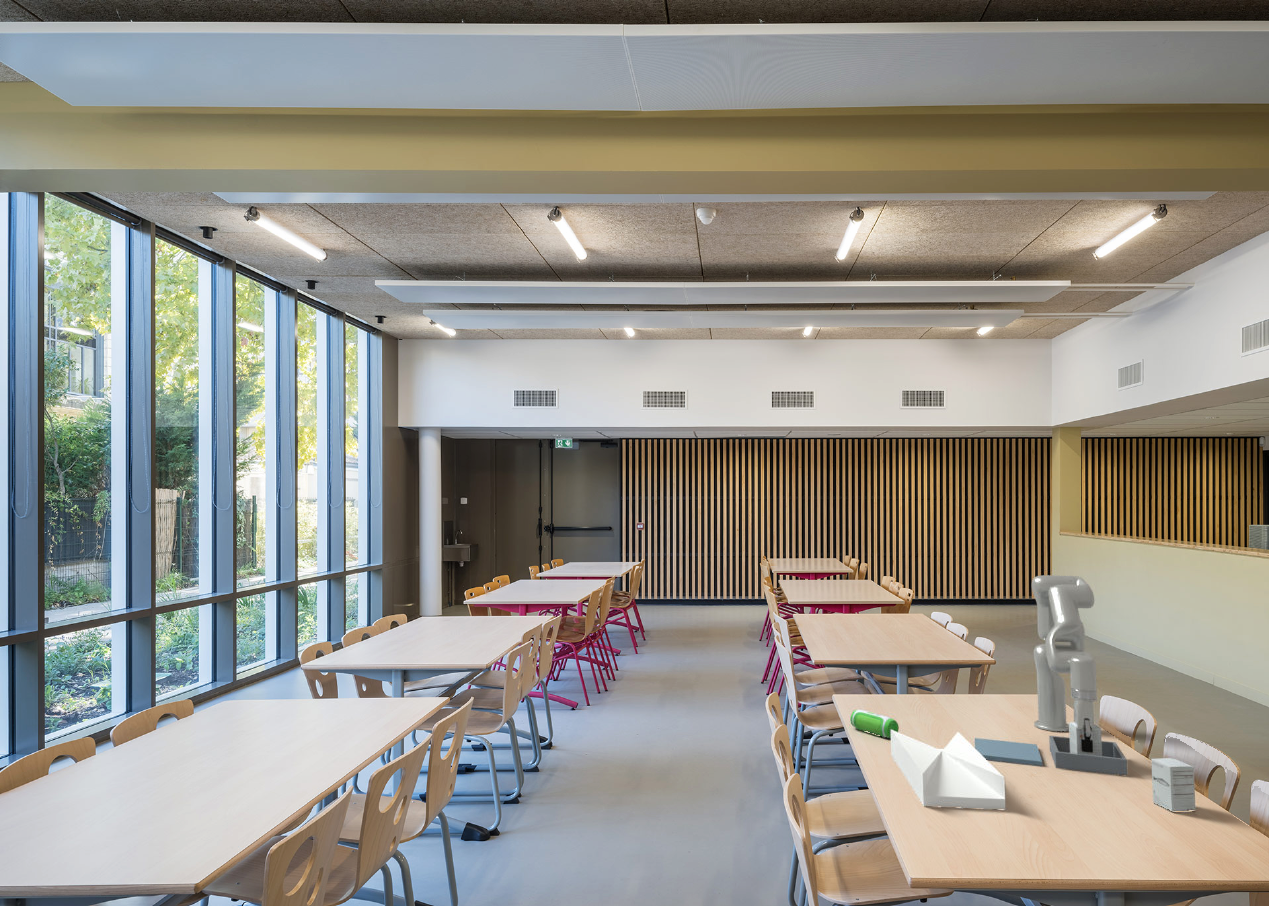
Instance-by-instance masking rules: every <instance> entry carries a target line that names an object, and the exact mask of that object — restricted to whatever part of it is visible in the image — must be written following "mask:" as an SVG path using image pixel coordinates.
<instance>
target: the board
mask: <svg viewBox="0 0 1269 906" xmlns="http://www.w3.org/2000/svg"><path fill="white" fill-rule="evenodd" d="M974 748H975V749H976V750H977V751H978V752H979V753H980V754H981V755H982V756H983V757H984V758H985V759H987V761H993V762H1000V761H1002V762H1001V763H1010V764H1018V765H1026V766H1035V765H1037V766H1036V767H1043V761H1042V760H1043V759H1042V757H1041V754H1040V751H1039V748H1038V744H1035V743H1026V742H1025V743H1024V742H1019V741H1018V742H1017V741H1007V740H1006V741H1005V740H997V739H987V738H978V737H974Z"/></svg>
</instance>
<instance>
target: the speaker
mask: <svg viewBox="0 0 1269 906" xmlns="http://www.w3.org/2000/svg"><path fill="white" fill-rule="evenodd" d="M849 721H850V724H851V726H852V727H853V728H855V729H856V728H857V730H859V731H861V730H863V731H868V732H870V733H874V734H876V735H880V736H882V737H881V738H885V737H887V738H886V739H891V730H894V731H896V732H898V733H899V731H900V730H899V729H900V728H899V724H898V722H897V721H896V720H895V719H894V718H892V717H889V716H885V715H881V714H878V713H875V712H872V711H871V712H870V711H868V710H864V709H855V710H853V711H852V713H851V714H850V720H849ZM863 731H862V732H863Z"/></svg>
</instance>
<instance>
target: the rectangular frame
mask: <svg viewBox="0 0 1269 906" xmlns="http://www.w3.org/2000/svg"><path fill="white" fill-rule="evenodd" d="M1048 739H1049V740H1048V741H1049V752H1051V753H1050V755H1051V759H1052V760H1053V763H1054V766H1055V768H1056V769H1062V770H1063V769H1064V770H1071V771H1078V772H1079V771H1081V772H1089V773H1096V772H1097V773H1098V774H1106V775H1114V774H1119V775H1118V776H1122V775H1129V773H1128V759H1127V758H1126V755H1124V753H1123V752H1122V749H1120V747H1119V745H1118V743H1117V742H1116V741H1106V740H1102V756H1094V755H1085V754H1076V753H1070V737H1069V736H1068V737H1067V736H1057V735H1048Z"/></svg>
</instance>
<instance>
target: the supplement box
mask: <svg viewBox="0 0 1269 906" xmlns="http://www.w3.org/2000/svg"><path fill="white" fill-rule="evenodd" d="M1150 759H1151V778H1152V779H1151V780H1152V781H1151V783H1152V803H1153V802H1154V803H1155V804H1156V805H1157V804H1158V805H1157V806H1159V807H1161V806H1162V807H1161V808H1163V807H1164V808H1163V809H1165V808H1166V809H1165V810H1167V809H1169V810H1170V811H1189V810H1195V811H1196V793H1195V792H1196V788H1195V767H1194V766H1193V765H1190V764H1188V763H1186V762H1183V761H1181V760H1179V759H1177V758H1174V757H1165V758H1163V757H1162V758H1150ZM1154 803H1153V804H1154ZM1155 804H1154V805H1155ZM1169 810H1168V811H1169ZM1170 811H1169V812H1170Z"/></svg>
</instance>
